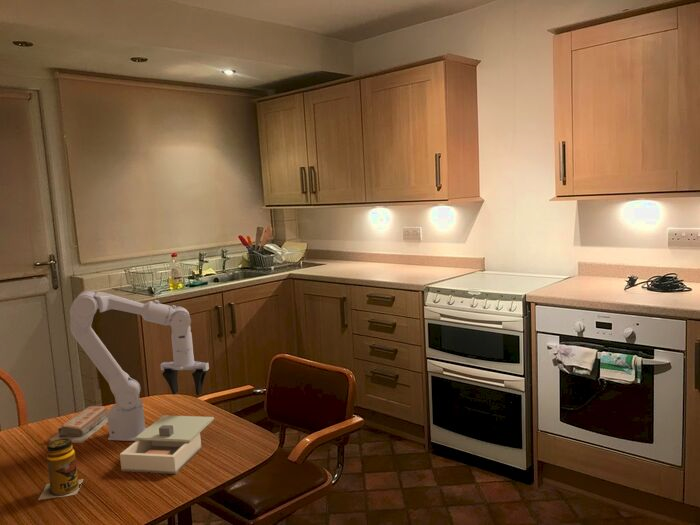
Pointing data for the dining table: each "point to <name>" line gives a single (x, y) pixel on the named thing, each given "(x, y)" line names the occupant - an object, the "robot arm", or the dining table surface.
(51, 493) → the condiment
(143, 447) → the carton
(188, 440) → the lid
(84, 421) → the packaged product
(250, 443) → the dining table surface
